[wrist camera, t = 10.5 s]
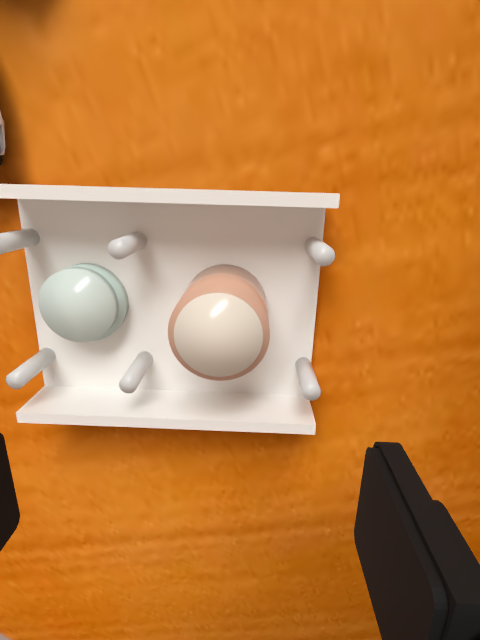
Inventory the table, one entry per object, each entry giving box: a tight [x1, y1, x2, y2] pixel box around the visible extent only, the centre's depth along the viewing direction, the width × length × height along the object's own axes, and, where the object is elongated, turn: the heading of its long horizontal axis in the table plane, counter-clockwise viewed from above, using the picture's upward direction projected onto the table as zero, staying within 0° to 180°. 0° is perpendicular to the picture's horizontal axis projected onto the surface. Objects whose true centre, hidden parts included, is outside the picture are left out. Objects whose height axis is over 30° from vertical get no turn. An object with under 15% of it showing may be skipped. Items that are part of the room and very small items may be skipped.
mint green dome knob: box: [38, 263, 129, 342], centre depth 28 cm, size 6×6×2 cm
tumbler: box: [168, 264, 270, 381], centre depth 25 cm, size 6×6×6 cm
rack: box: [0, 184, 340, 435], centre depth 27 cm, size 21×16×6 cm
